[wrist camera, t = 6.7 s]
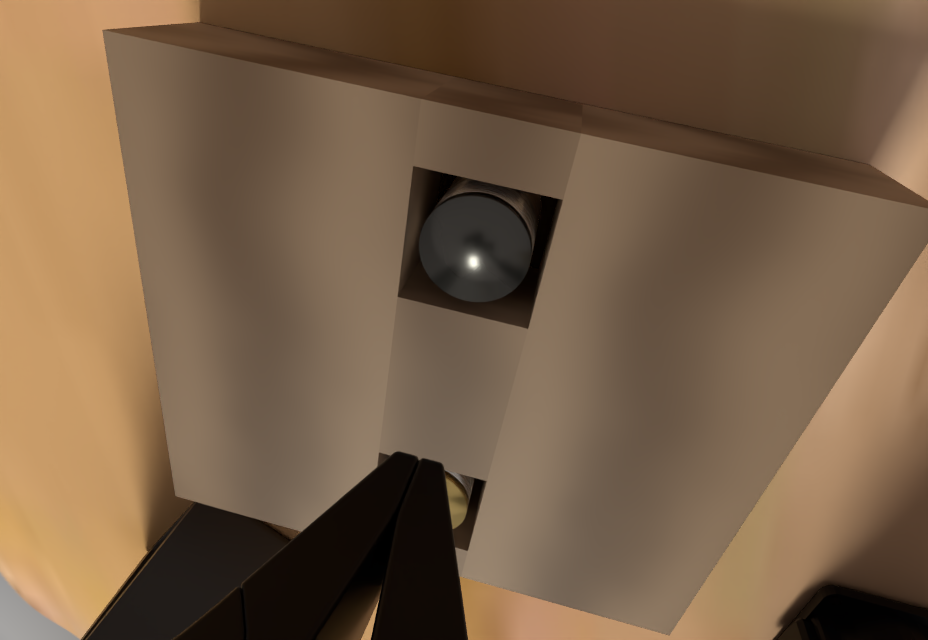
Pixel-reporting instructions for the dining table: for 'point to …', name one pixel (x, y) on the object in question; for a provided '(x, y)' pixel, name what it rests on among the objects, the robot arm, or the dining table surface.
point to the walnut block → (489, 306)
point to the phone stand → (186, 574)
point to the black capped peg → (480, 239)
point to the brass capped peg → (458, 495)
